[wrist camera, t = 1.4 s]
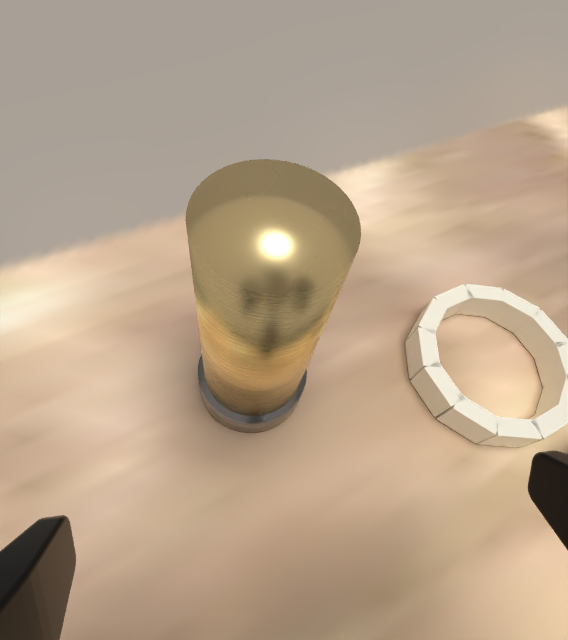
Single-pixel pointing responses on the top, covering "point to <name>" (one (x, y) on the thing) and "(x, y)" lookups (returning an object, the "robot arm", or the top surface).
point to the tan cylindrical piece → (265, 283)
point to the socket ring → (533, 332)
